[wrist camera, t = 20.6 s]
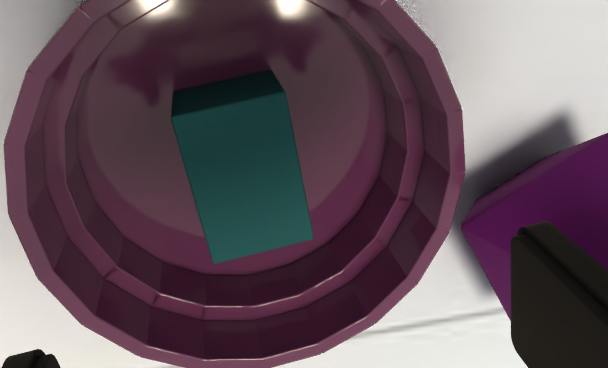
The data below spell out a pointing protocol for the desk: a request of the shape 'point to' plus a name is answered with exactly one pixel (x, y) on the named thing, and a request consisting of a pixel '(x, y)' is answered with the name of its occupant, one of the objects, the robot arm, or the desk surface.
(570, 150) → the perfume bottle
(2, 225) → the desk surface
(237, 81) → the eraser
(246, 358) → the bowl
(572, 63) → the desk surface
